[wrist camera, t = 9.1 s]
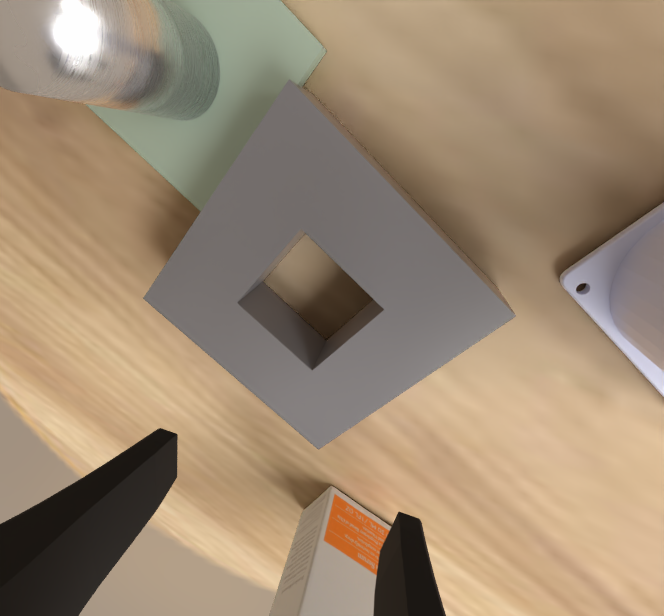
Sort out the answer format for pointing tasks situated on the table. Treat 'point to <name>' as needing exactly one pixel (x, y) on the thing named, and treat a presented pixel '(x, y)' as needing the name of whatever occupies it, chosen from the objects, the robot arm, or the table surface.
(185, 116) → the plug
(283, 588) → the skincare box
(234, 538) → the table surface
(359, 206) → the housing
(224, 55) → the mat
